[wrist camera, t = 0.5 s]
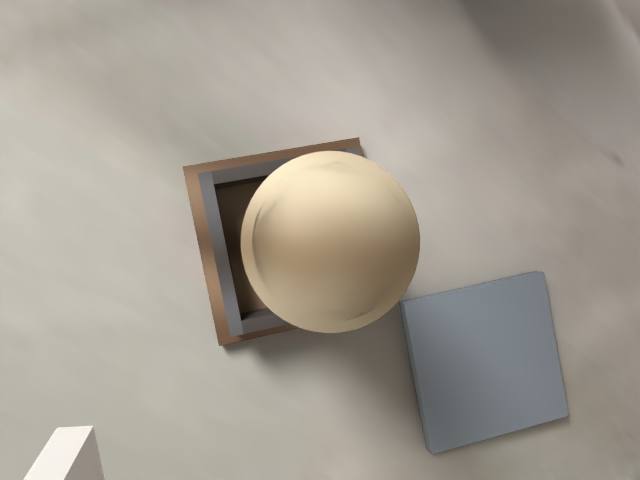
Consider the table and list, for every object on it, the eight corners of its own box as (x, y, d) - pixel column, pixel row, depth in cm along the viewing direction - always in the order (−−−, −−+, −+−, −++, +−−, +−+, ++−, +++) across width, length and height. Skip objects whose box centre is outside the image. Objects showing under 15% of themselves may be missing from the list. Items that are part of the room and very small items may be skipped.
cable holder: (184, 168, 33) (177, 159, 29) (355, 140, 35) (370, 127, 31) (219, 342, 33) (217, 357, 29) (386, 304, 35) (405, 313, 31)
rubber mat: (399, 302, 35) (403, 303, 34) (535, 271, 37) (543, 272, 36) (426, 448, 36) (431, 454, 35) (560, 411, 38) (568, 415, 37)
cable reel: (230, 198, 32) (223, 167, 18) (329, 181, 33) (402, 137, 19) (250, 299, 33) (260, 351, 18) (348, 278, 34) (434, 311, 19)
